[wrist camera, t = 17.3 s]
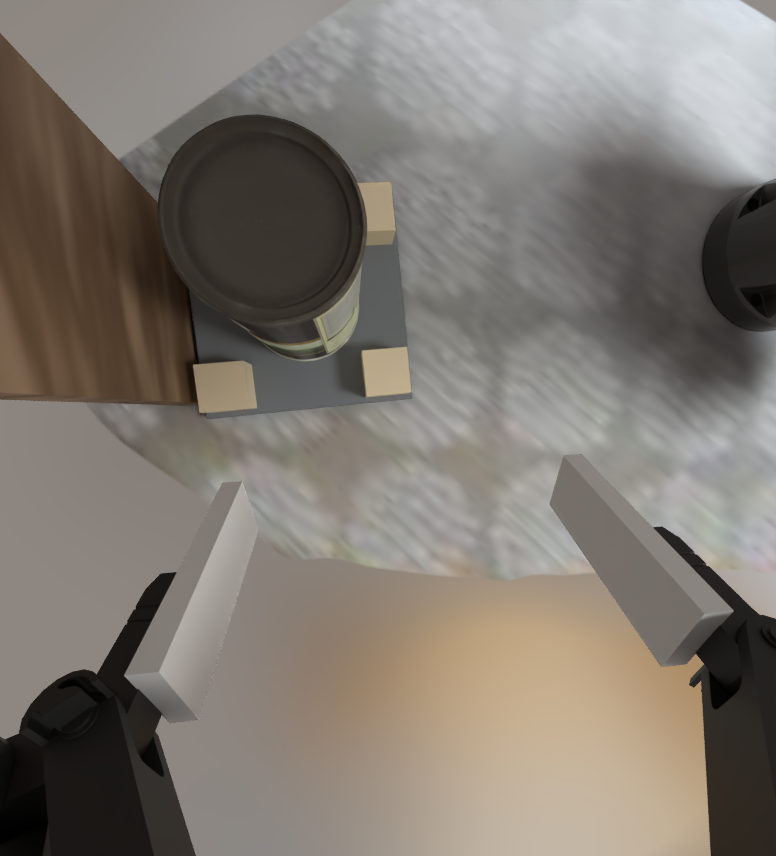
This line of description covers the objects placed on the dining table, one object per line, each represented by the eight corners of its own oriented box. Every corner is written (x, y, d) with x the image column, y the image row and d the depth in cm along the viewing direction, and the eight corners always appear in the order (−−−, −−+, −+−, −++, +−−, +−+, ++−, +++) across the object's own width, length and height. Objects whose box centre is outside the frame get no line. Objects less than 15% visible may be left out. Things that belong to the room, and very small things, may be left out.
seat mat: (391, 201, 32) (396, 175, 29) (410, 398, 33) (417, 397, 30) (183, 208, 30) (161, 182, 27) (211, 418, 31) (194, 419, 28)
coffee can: (279, 381, 31) (219, 357, 17) (225, 276, 30) (115, 160, 16) (379, 334, 32) (400, 274, 18) (329, 230, 31) (311, 80, 17)
